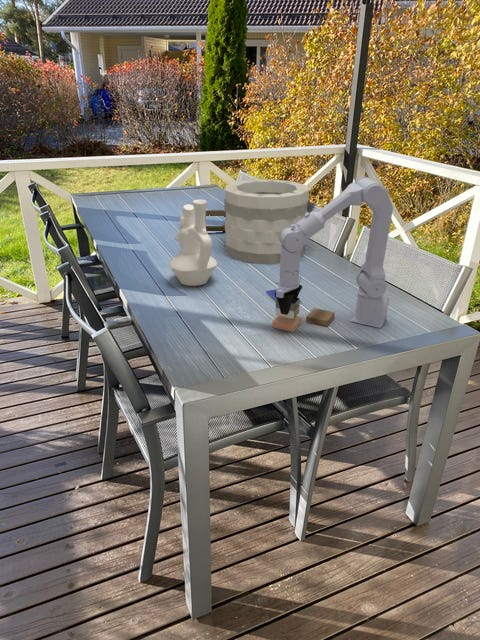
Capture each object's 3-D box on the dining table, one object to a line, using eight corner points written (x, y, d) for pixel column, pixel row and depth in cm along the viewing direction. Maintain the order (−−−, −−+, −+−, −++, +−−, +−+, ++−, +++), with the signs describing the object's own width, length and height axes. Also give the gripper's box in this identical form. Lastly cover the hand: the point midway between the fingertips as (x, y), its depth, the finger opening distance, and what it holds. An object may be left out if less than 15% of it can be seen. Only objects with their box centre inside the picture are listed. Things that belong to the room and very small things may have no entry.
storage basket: (286, 235, 238) (288, 177, 226) (319, 259, 208) (324, 193, 196) (215, 243, 228) (214, 182, 216) (239, 269, 199) (239, 200, 186)
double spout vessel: (209, 270, 197) (207, 188, 182) (227, 291, 178) (226, 202, 164) (165, 276, 191) (159, 192, 177) (179, 298, 173) (173, 206, 158)
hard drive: (302, 301, 169) (287, 287, 179) (279, 304, 166) (266, 290, 177) (301, 305, 169) (286, 291, 180) (279, 308, 167) (265, 294, 177)
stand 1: (301, 322, 156) (302, 317, 156) (293, 332, 151) (293, 326, 150) (281, 318, 159) (281, 312, 158) (272, 327, 154) (272, 321, 153)
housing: (299, 313, 154) (299, 298, 152) (293, 318, 150) (294, 303, 148) (281, 309, 156) (281, 294, 154) (275, 314, 153) (275, 300, 151)
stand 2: (334, 317, 159) (334, 312, 159) (327, 326, 154) (327, 321, 153) (313, 313, 162) (313, 307, 161) (305, 322, 157) (306, 316, 156)
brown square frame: (174, 233, 242) (174, 224, 240) (190, 216, 269) (190, 208, 267) (237, 236, 237) (237, 227, 235) (247, 219, 264) (247, 210, 262)
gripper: (286, 259, 154) (284, 299, 160) (267, 274, 143) (265, 317, 149) (308, 263, 151) (305, 303, 157) (289, 279, 140) (287, 322, 146)
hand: (287, 310), depth 153 cm, fingers closed on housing, 4 cm apart
